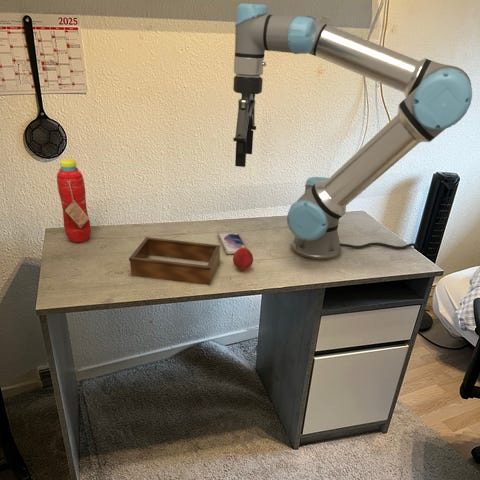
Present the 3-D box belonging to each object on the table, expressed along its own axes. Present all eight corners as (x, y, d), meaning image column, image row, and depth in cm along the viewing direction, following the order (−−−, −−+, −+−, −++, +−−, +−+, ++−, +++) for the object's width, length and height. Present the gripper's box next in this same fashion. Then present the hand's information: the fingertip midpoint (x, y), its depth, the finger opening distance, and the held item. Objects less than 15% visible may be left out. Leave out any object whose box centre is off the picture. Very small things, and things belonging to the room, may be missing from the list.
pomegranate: (253, 267, 141) (255, 242, 136) (250, 276, 136) (252, 251, 132) (234, 264, 142) (235, 240, 137) (230, 273, 137) (231, 248, 132)
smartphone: (237, 232, 160) (248, 251, 148) (237, 234, 160) (248, 253, 148) (217, 233, 158) (226, 252, 146) (217, 235, 159) (226, 254, 147)
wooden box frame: (220, 261, 143) (220, 245, 140) (210, 285, 131) (210, 267, 127) (147, 253, 145) (145, 236, 142) (130, 275, 133) (128, 258, 130)
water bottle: (92, 248, 146) (81, 167, 132) (65, 250, 144) (51, 167, 130) (92, 233, 156) (82, 155, 142) (67, 234, 154) (54, 156, 140)
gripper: (256, 82, 111) (251, 173, 122) (267, 71, 131) (262, 150, 143) (225, 80, 111) (222, 170, 123) (241, 69, 132) (237, 147, 144)
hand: (243, 159), depth 133 cm, fingers open, 13 cm apart
